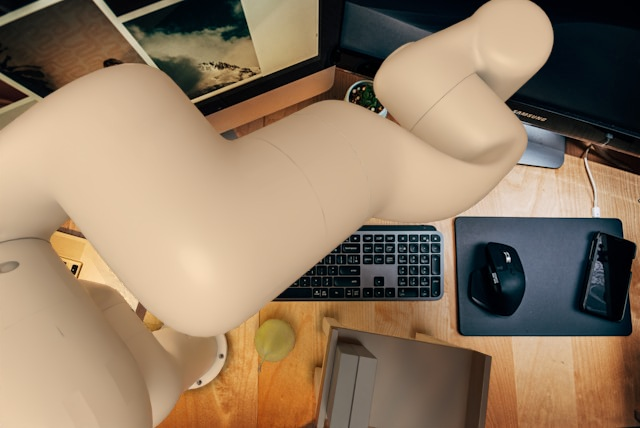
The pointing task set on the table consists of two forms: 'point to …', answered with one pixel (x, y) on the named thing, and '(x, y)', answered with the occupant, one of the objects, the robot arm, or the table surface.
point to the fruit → (274, 341)
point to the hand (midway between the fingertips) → (424, 142)
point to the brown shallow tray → (416, 382)
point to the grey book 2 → (363, 388)
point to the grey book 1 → (342, 386)
